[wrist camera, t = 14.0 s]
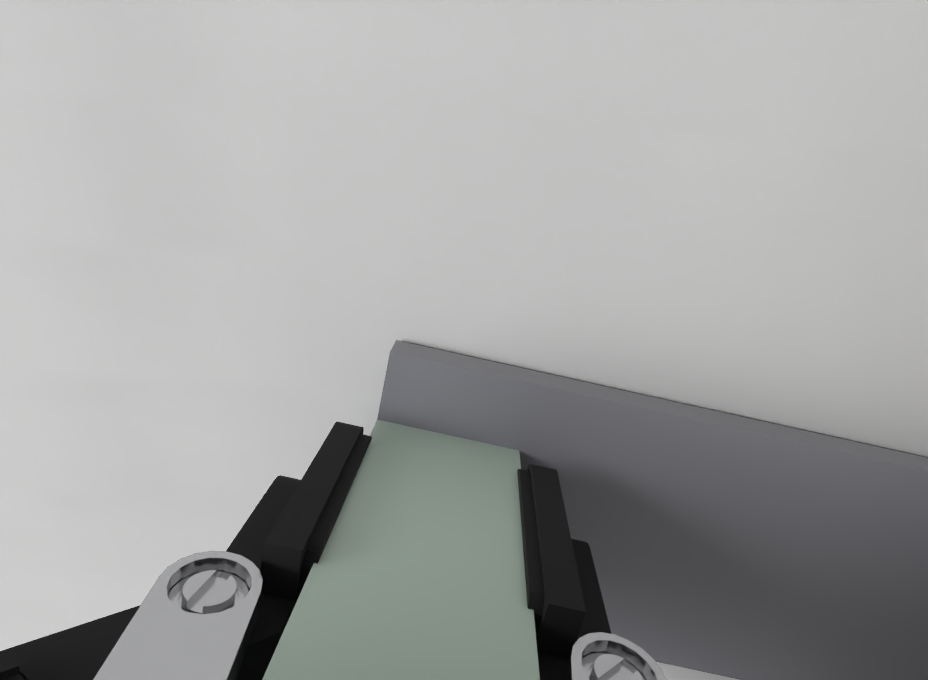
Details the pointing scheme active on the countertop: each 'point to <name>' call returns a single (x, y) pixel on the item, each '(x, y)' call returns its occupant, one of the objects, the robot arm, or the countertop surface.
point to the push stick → (612, 536)
